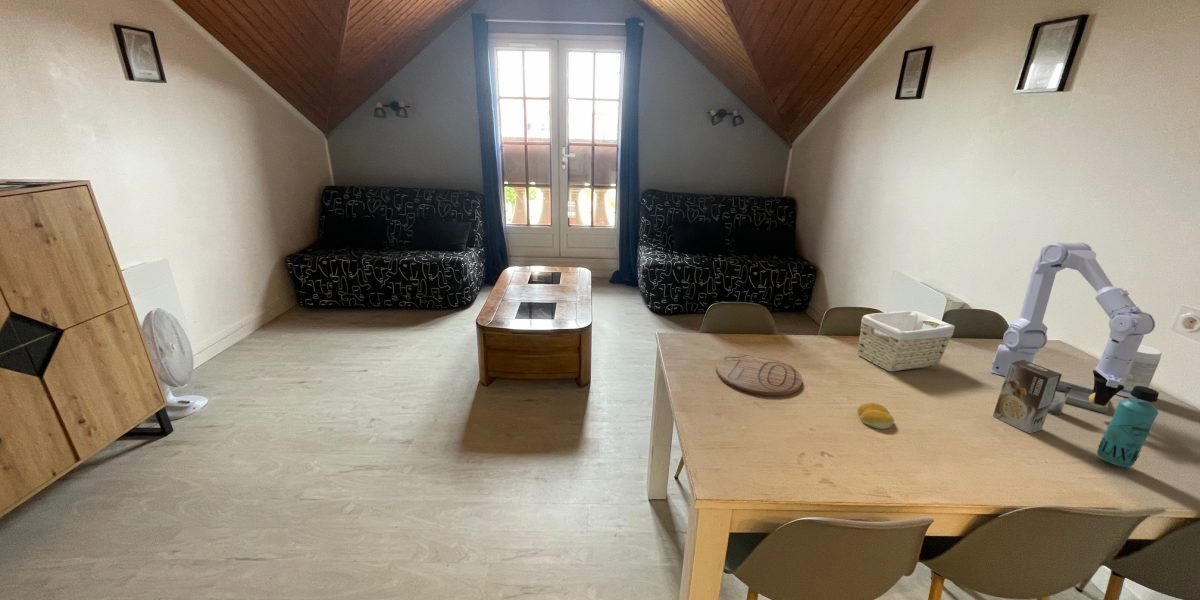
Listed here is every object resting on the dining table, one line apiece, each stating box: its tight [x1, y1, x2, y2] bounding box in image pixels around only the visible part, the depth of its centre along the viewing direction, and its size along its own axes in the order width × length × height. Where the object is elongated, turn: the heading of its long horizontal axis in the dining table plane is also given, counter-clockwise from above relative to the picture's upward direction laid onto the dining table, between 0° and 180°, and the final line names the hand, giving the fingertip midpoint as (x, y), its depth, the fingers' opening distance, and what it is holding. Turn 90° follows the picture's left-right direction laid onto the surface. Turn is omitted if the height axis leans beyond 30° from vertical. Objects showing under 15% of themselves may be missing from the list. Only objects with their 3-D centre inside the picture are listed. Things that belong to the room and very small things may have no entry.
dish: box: [1060, 380, 1109, 415], centre depth 147 cm, size 12×12×2 cm
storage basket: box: [856, 310, 956, 372], centre depth 165 cm, size 24×16×15 cm
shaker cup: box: [1048, 380, 1072, 416], centre depth 138 cm, size 5×5×8 cm
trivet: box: [715, 353, 803, 398], centre depth 152 cm, size 25×25×2 cm
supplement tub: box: [1115, 343, 1163, 399], centre depth 150 cm, size 10×10×15 cm
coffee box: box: [992, 360, 1062, 434], centre depth 130 cm, size 9×6×16 cm
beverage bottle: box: [1096, 386, 1160, 468], centre depth 114 cm, size 6×7×20 cm
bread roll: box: [856, 402, 895, 430], centre depth 131 cm, size 8×9×4 cm
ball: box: [1089, 393, 1111, 408], centre depth 136 cm, size 4×4×4 cm
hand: (1098, 401), depth 136 cm, fingers closed on ball, 4 cm apart
